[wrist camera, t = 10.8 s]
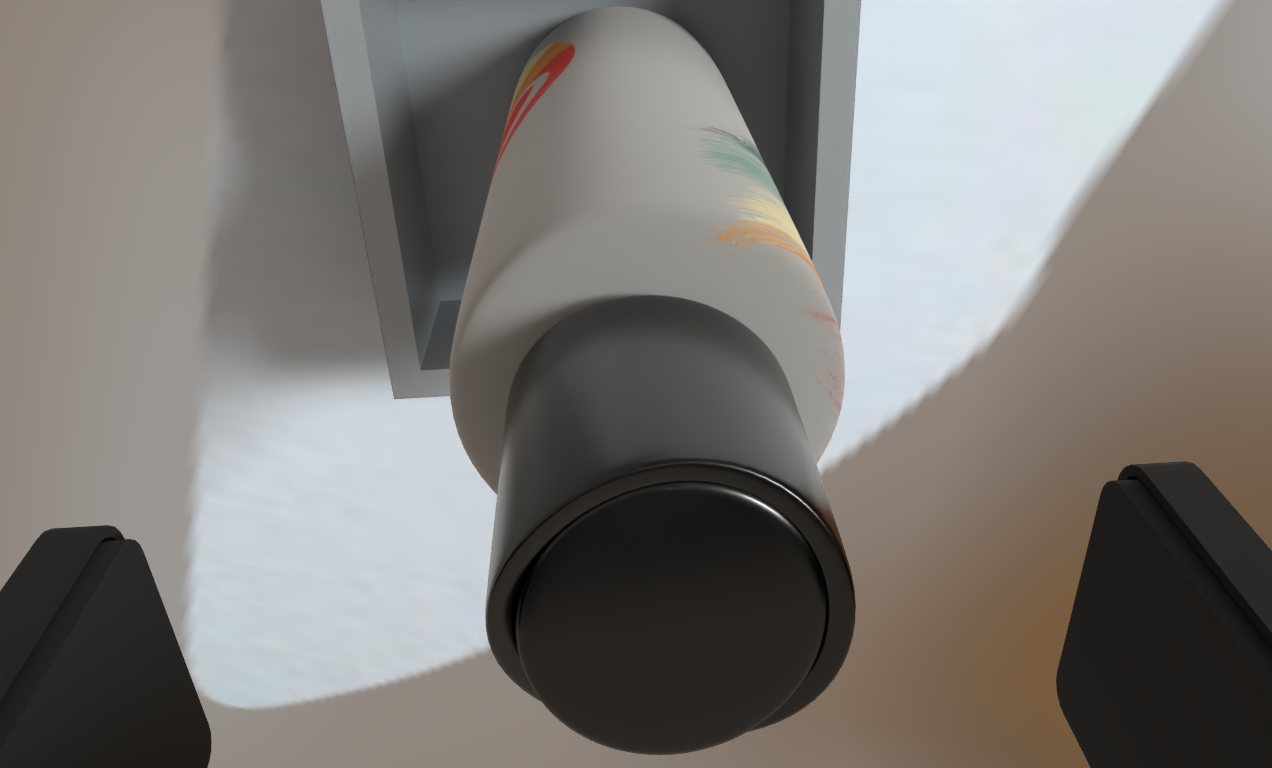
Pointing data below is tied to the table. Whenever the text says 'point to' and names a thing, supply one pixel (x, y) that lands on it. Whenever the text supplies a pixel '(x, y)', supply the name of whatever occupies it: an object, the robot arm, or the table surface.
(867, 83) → the table surface
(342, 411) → the table surface
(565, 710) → the lotion bottle
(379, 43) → the box
